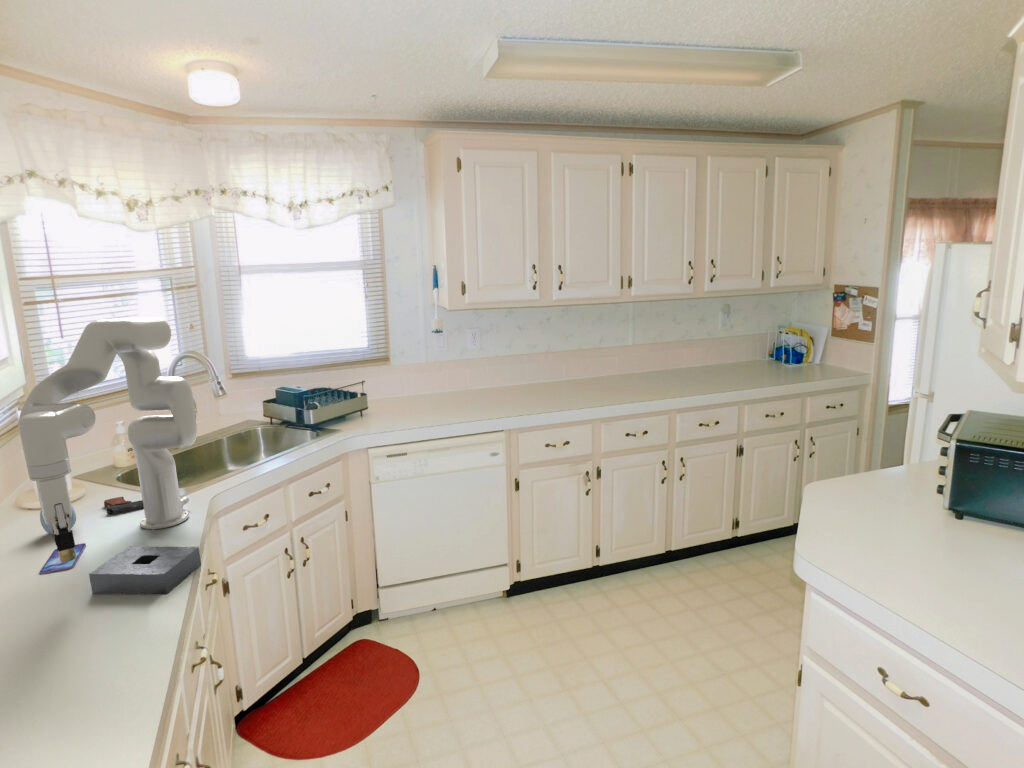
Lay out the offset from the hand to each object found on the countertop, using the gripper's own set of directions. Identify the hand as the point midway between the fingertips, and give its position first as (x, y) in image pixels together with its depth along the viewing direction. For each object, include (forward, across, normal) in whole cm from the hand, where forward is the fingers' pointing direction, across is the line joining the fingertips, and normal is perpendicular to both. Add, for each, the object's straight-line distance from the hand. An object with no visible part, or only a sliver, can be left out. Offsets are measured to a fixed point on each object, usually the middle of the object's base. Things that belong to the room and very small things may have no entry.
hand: (65, 545), depth 143 cm
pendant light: (+14, -47, +2) cm, 49 cm away
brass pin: (+3, 0, 0) cm, 3 cm away
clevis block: (+13, +3, +14) cm, 19 cm away
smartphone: (+14, -25, 0) cm, 29 cm away
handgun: (+15, -56, +22) cm, 61 cm away
